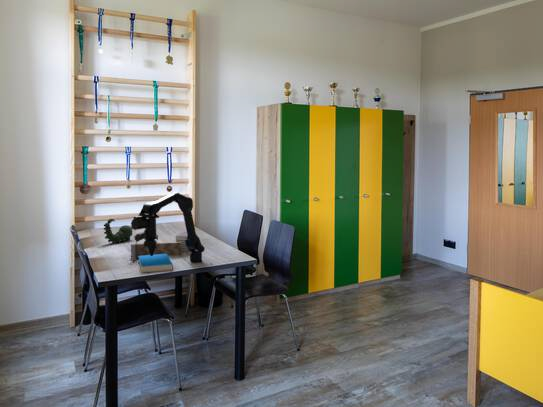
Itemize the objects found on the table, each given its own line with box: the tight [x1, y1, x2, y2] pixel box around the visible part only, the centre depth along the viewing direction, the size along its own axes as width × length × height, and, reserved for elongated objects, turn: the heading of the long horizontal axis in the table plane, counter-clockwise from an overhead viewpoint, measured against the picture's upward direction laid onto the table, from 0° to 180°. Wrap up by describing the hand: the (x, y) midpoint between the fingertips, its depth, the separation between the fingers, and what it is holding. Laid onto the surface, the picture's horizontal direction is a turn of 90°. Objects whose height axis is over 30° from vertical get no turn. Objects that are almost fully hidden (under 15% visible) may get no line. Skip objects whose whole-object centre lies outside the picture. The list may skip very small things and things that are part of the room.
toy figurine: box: [103, 218, 134, 244], centre depth 327 cm, size 9×19×25 cm
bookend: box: [131, 240, 138, 262], centre depth 276 cm, size 2×10×10 cm, turn 11°
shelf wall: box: [130, 241, 182, 258], centre depth 285 cm, size 30×2×8 cm, turn 101°
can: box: [174, 231, 191, 254], centre depth 297 cm, size 11×11×12 cm
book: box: [137, 254, 174, 273], centre depth 263 cm, size 17×4×25 cm
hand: (151, 256), depth 244 cm, fingers closed
